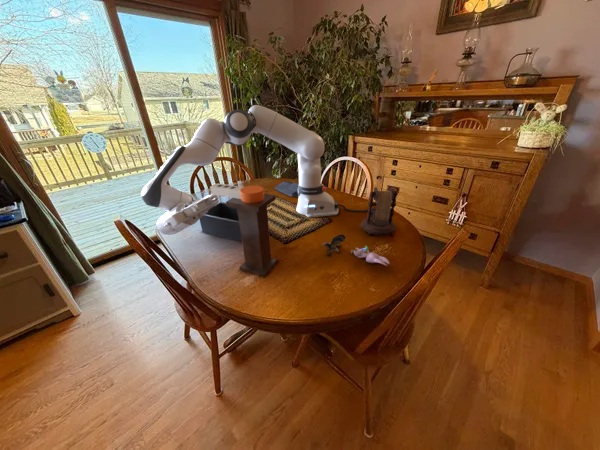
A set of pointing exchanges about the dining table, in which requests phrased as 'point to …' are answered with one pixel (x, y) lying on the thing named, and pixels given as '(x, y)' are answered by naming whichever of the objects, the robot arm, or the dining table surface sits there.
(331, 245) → the grey animal figurine
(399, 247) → the dining table surface
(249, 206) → the stand
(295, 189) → the dark slate chunk
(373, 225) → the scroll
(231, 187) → the extension cord
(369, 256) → the rabbit figure
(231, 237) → the compartment
